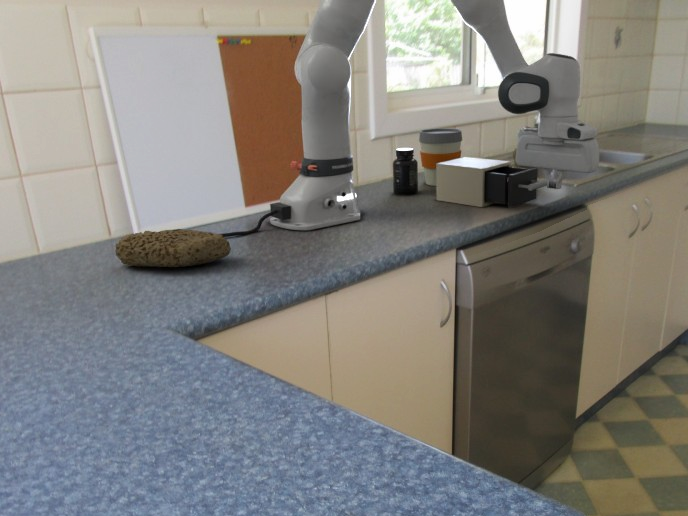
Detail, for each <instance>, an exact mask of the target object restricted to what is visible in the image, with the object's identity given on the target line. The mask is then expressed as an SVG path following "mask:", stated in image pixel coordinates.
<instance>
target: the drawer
mask: <svg viewBox="0 0 688 516" xmlns="http://www.w3.org/2000/svg"><path fill="white" fill-rule="evenodd" d="M538 171H539V168H535V167H530V169H528V170H527V169H526V168H517V167H513V166H511V167H507V166H503V167H500V168H496V169H492V170H488V171H484V172H485V177H484V201H485V202H492V203H494V204H498V205H507V208H515V207H518V206H520V205H524V204H526V203H529V202H532V201H535V200H537V193H538V189H541V188H545V187H547V180H546V179H543V180H538ZM507 177H509V182H508V199H507Z"/></svg>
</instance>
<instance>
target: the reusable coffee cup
mask: <svg viewBox="0 0 688 516" xmlns="http://www.w3.org/2000/svg"><path fill="white" fill-rule="evenodd" d="M418 142H419V143H420V151H419V155H420V162H421V167H422V168H423V172H424V180H425V181H424V182H425V184H426V185H429V186H435V187H437V185H436V163H441V162H445V161H450V160H454V159H458V158H462V157H461V156H462V149H461V145H462V142H463V134H462V130H461V129H460V128H459V129H458V128H448V127H447V128H444V127H443V128H428V129H422V130H420V131H419V137H418Z"/></svg>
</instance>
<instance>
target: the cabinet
mask: <svg viewBox="0 0 688 516" xmlns="http://www.w3.org/2000/svg"><path fill="white" fill-rule="evenodd" d="M503 166H507V167H512V161H510V160H502V159H501V160H500V159H499V160H498V159H489V158H482V157H481V158H480V157H472V156H471V157H470V156H464V157H461V158H458V159H454V160H450V161H445V162H441V163H436V185H437V186H436V201H440V202H446V203H452V204H459V205H466V206H472V207H479V208H484V207H488V206H490V205H495V203H492V202H485V201H484V177H485V172H484V171H488V170H492V169H496V168H500V167H503Z"/></svg>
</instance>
